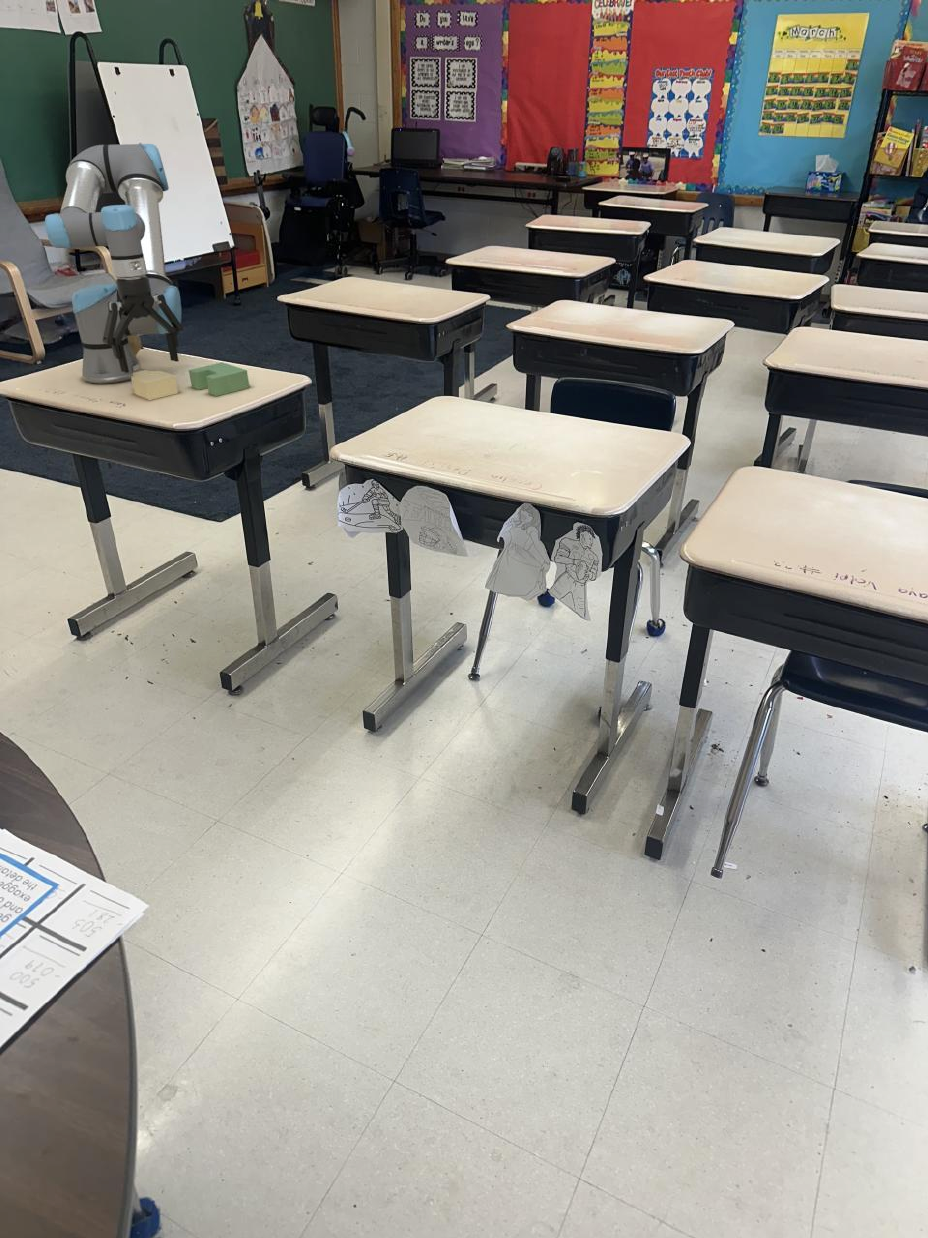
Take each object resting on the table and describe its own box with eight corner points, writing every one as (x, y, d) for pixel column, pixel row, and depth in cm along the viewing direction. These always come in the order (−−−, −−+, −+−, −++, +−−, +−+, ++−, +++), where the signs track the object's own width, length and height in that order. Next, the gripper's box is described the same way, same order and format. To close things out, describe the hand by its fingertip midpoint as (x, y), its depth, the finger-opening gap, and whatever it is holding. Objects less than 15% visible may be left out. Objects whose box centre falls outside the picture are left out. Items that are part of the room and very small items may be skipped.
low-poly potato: (94, 359, 252) (82, 349, 241) (101, 322, 252) (90, 311, 240) (146, 372, 254) (137, 363, 243) (153, 335, 254) (145, 325, 243)
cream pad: (149, 400, 216) (145, 382, 213) (129, 391, 222) (125, 374, 220) (178, 392, 220) (174, 375, 218) (157, 384, 227) (153, 367, 225)
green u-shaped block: (191, 387, 225) (188, 369, 222) (224, 378, 231) (221, 361, 228) (216, 396, 217) (213, 378, 215) (249, 387, 223) (246, 370, 221)
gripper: (88, 286, 196) (110, 379, 207) (186, 271, 211) (201, 358, 222) (74, 282, 200) (96, 373, 211) (171, 268, 215) (187, 353, 226)
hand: (150, 366), depth 217 cm, fingers open, 13 cm apart
